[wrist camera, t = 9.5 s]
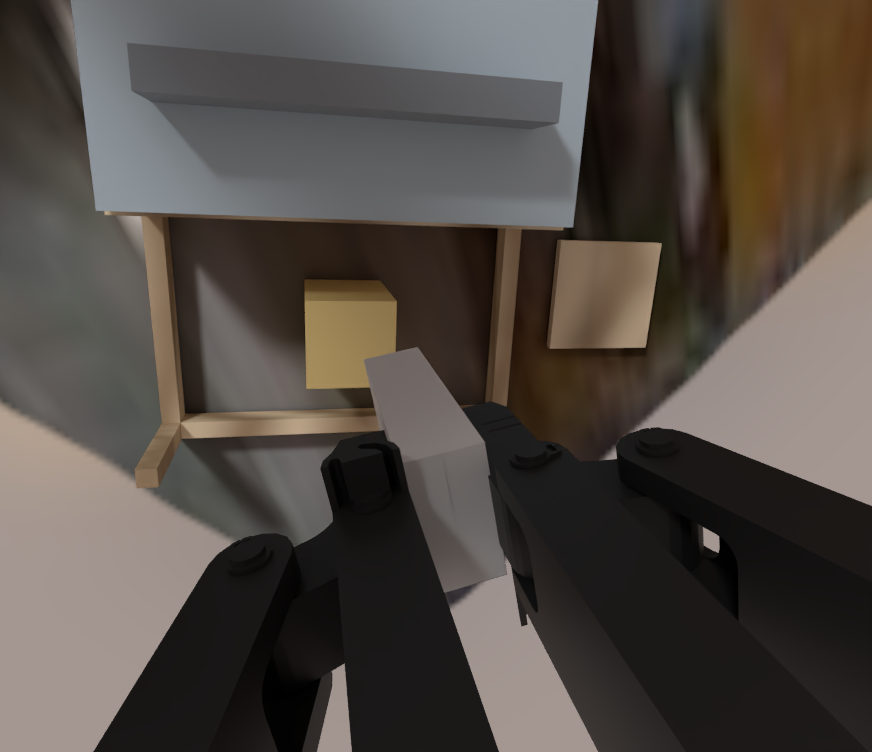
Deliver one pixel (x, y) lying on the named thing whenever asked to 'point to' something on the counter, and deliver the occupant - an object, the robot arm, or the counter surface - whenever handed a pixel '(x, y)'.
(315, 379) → the ochre block
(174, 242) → the counter surface
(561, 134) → the cover
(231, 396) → the counter surface
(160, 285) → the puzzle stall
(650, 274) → the cork coaster
